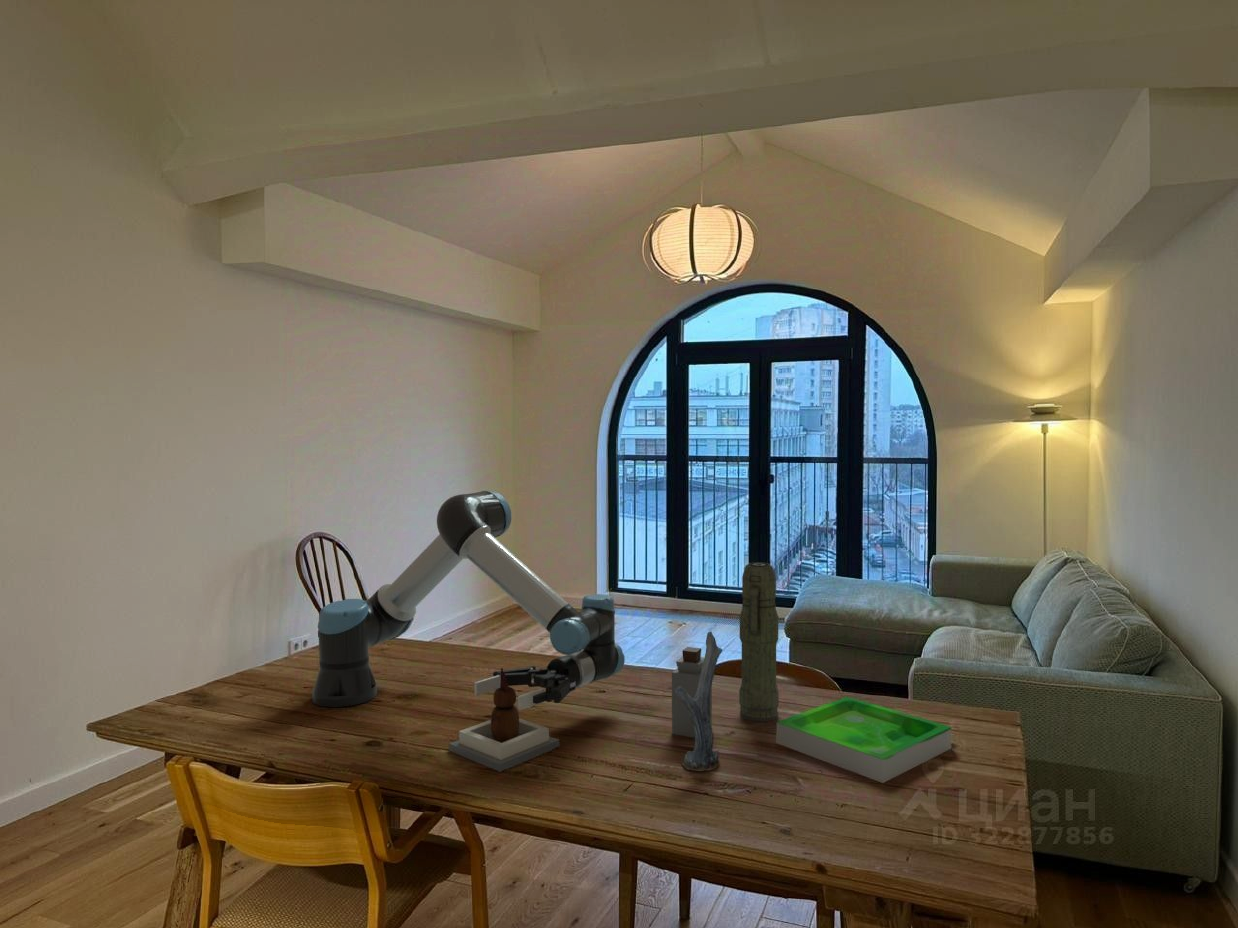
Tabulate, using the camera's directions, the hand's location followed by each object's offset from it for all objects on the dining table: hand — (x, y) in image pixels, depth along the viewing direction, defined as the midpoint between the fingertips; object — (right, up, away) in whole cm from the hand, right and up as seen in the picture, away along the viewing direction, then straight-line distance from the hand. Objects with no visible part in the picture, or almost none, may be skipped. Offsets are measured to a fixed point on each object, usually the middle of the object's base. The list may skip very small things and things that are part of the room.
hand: (496, 695), depth 163 cm
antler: (+41, -12, -5) cm, 43 cm away
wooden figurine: (+2, -10, +2) cm, 11 cm away
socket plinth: (+1, -11, +2) cm, 12 cm away
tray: (+76, -12, +3) cm, 77 cm away
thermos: (+57, -11, +21) cm, 62 cm away
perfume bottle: (+41, -11, +11) cm, 44 cm away
